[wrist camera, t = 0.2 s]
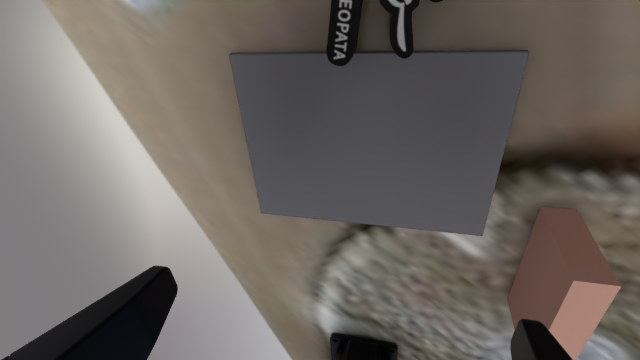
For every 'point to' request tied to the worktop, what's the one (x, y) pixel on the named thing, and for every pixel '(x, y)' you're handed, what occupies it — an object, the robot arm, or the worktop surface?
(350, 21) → the nameplate
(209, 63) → the worktop surface
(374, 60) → the mat
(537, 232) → the card box
